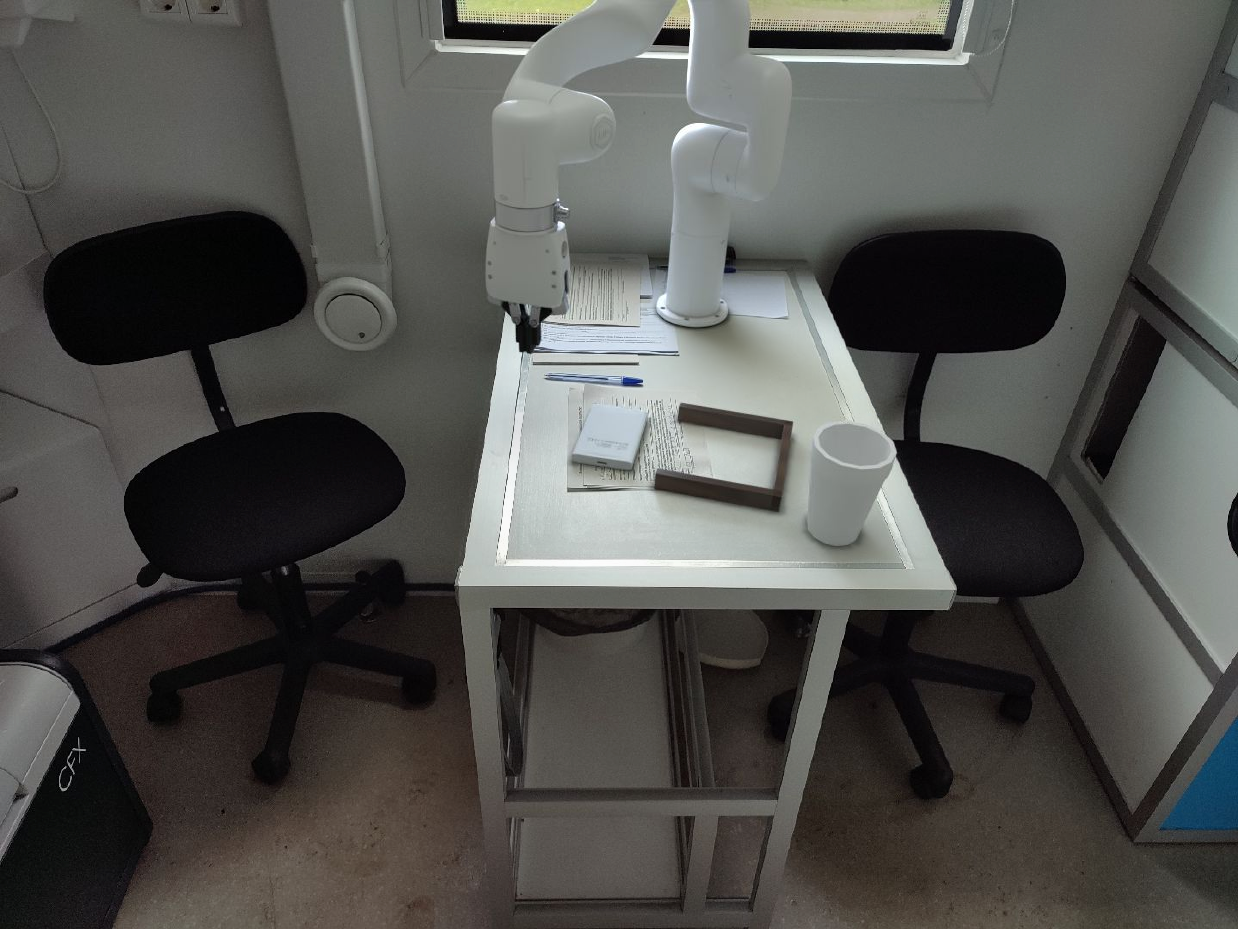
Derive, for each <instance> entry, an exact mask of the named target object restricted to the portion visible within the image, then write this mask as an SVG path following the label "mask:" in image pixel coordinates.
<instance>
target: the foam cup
mask: <svg viewBox="0 0 1238 929" xmlns="http://www.w3.org/2000/svg"><path fill="white" fill-rule="evenodd" d="M897 454H898V452H897V448H896V446H895V442H894V441H893V440H892V439H891V438H890V437H889V436H888V435H886V434H885V432H883V431H882V430H881V429H878V428H875V427H873V426H872V425H869V424H866V423H863V422H856V421H852V420H839V421H838V420H837V421H830V422H828V423H825V424H824V425H821V426H819V427H818V428H817V430H816V431H815V432H814V434H813V435H812V439H811V444H810V448H809V458H810V464H809V465H810V468H809V483H808V498H807V499H808V500H807V516H806V520H807V521H806V524H807V525H806V526H807V530H808V532H809V533H810V534H811V536H812V537H813V538H814V539H816V540H817V541H819V542H821V543H823V544H824V545H825V544H826V545H829V546H834V547H840V546H842V547H843V546H849V545H851V544H853V543H855V542H856V540H857V539H858V537H859V534H860V533H861V530H862V529H863V526H864V524H865V523H866V520H867V519H868V516H869V513H870V511H871V509H872V508H873V506H874V504H875V502H876V499H877V498H878V495H879V494H880V491H881V489H882V487H883V484H884V482H885V481H886V480H887V479H888V478H889V476H890V474H891V471H892V470H893V467H894V463H895V460H896V456H897Z"/></svg>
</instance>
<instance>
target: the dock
mask: <svg viewBox="0 0 1238 929" xmlns="http://www.w3.org/2000/svg"><path fill="white" fill-rule="evenodd" d="M677 422H681V423H688V424H693V425H700V426H706V427H710V428H718V429H721V430H728V431H734V432H741V433H746V434H752V435H757V436H763V437H768V438H769V437H770V438H776V439H780V444H779V450H778V457H777V463H776V469H775V474H774V481H773V488H767V487H763V486H757V485H753V484H752V485H751V484H746V483H741V482H736V481H730V480H724V479H718V478H713V477H708V476H702V475H697V474H692V473H685V472H681V471H676V470H675V471H674V470H669V469H663V468H658V467H657V468H656V470H655V473H654V485H653V486H654V487H653V489H654V490H660V491H666V492H671V493H676V494H681V495H688V496H693V497H698V498H703V499H709V500H714V501H719V502H725V503H729V504H735V505H740V506H746V507H750V508H751V507H752V508H756V509H761V510H768V511H773V512H780V509H781V505H782V504H781V503H782V498H783V492H784V486H785V480H786V472H787V466H788V460H789V452H790V447H791V440H792V434H793V433H792V432H793V427H794V421H792V420H789V419H788V420H787V419H782V418H781V419H780V418H775V417H769V416H764V415H763V416H762V415H757V414H753V413H745V412H741V411H740V412H739V411H733V410H727V409H721V408H717V407H709V406H705V405H704V406H703V405H697V404H692V403H687V402H679V405H678V413H677Z"/></svg>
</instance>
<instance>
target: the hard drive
mask: <svg viewBox="0 0 1238 929" xmlns="http://www.w3.org/2000/svg"><path fill="white" fill-rule="evenodd" d="M648 418H649V412H648V411H647V410H641V409H635V408H630V407H629V408H628V407H623V406H622V407H621V406H616V405H608V404H602V403H601V404H600V403H593V404H592V405H591V407H590V409H589V413H588V415H587V416H586V420H585V422H584V425H583V427H582V430H581V432H580V435H579V436H578V439H577V441H576V444H575V447H574V449H573V451H572V454H571V461H572V462H573V463H576V464H583V465H589V466H595V467H600V468H601V467H602V468H609V469H616V470H622V471H632V470H633V467H634V464H635V460H636V458H637V454H638V450H639V447H640V444H641V441H642V437H643V434H644V431H645V428H646V424H647V421H648Z"/></svg>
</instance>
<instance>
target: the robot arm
mask: <svg viewBox="0 0 1238 929" xmlns="http://www.w3.org/2000/svg"><path fill="white" fill-rule="evenodd" d="M677 2H678V0H594V1H593V3H591V5H589V6H587V7H586V8H584V9H582V10H579V11H578V12H577V13H575V14H573V15H571V16H570V17H569V18H567V19H565V20H564V21H562V22H561V23H559V24H558V25H557V26H555V27H554V28H552V29H550V30H549V31H548V32H546V33H545V34H544V35H542V36H541V37H540V38H539V39H538V40H537V41H536V42H535V43H533V45H532V46H531V47H530V48H529V49H528V51H527V52H526V54H525V55H524V56H523V58H522V60H521V61H520V63H519V64H518V66H517V68H516V70H515V72H514V74H513V75H512V77H511V79H510V81H509V83H508V85H507V87H506V89H505V92H504V94H503V97H502V100H501V103H498V105H497V106H495V108H493V111H492V114H491V145H492V170H493V171H492V172H493V173H492V174H493V197H494V199H493V200H494V217H493V218H492V219H491V221H490V224H489V229H488V234H487V243H486V253H485V273H484V274H485V289H486V293H487V296H486V302H488V303H489V304H492V305H494V306H496V307H498V308H502V309H503V310H504V311H505V312H506V314H507V315H508V316H509V317H510V318H511V322H512V323H513V324H514V325H515V326H514V327H515V328H514V329H515V331H514V332H515V343H518V352H519V353H523V354H524V353H526V354H528V355H532V353H533V352H534V350H535V349H536V348H537V347H539V346H540V345H541V342H542V322H544V321H545V320H546V319H548V318H549V317H550V316H564V315H567V313H568V311H569V310H570V304H569V303H570V302H569V299H568V296H567V295H569V294H570V292H571V289H572V288H571V287H572V273H571V272H572V271H571V257H570V248H569V241H568V235H567V234H568V233H567V230H566V225H565V223H564V221H569V219H570V212H571V210H570V208H564V206H562V205H561V204H560V203H561V200H560V198H559V169H560V167H561V166H562V165H563V166H564V165H569V164H570V165H571V164H581V163H588V162H591V161H594V160H596V159H598V158H600V157H601V156H602V155H604V154H605V153H606V152H607V151H608V150H609V148H610V147H611V145H612V143H613V141H614V139H615V136H616V131H617V130H616V129H617V120H616V117H615V116H616V115H615V114H614V111H613V109H612V108H611V106H610V105H609V104H608V103H607V102H606V101H604V100H603V99H602V98H600V97H598V96H595V95H593V94H589V93H586V92H581V91H576V90H572V89H570V88H566V87H563V86H564V85H566V84H567V83H568V82H569V81H570V80H572V79H574V78H575V77H576V76H578V75H581V74H582V73H585V72H586V71H589V70H593V69H596V68H600V67H604V66H608V65H613V64H617V63H621V62H624V61H626V60H631V59H634V58H636V57H639V56H641V55H643V54H645V53H646V52H647V51H649V50H650V49H651V48H652V46H653V44H654V42H655V41H656V39H657V37H658V35H659V34H660V32H661V30H662V28H663V26H664V25H665V23H666V21H667V19H668V18H669V16H670V14H671V12H672V10H673V8H674V7H675V5H676V3H677ZM687 2H688V6H689V11H690V36H689V48H688V49H689V50H688V62H687V74H686V101H687V104H688V107H689V108H690V109H691V111H693V112H694V113H696V114H698V115H700V116H703V117H707V118H710V119H714V120H718V121H723V122H727V123H731V124H735V125H740V126H744V127H745V129H746V132H744V131H740V130H737V129H734V128H730V127H725V126H720V125H716V124H712V123H704V122H701V123H698V122H697V123H691V124H688V125H686V126H684V127H683V128H681V129H680V131H678V133H677V134H676V136H675V137H674V140H673V142H672V145H671V151H670V167H671V176H672V185H673V187H672V188H673V204H672V205H673V206H672V218H671V219H672V220H671V230H670V231H671V232H670V244H669V256H668V267H667V281H666V292H665V293H664V294H662V295H660V296H659V298H658V299H657V300H656V306H655V307H656V313H657V314H658V315H659V316H660V317H661V318H662V319H664V320H665V321H666V322H667V321H668V322H669V323H672V324H674V325H677V326H682V327H687V328H688V327H689V328H705V327H707V328H708V327H712V326H715V325H717V324H720V323H721V322H723V321H724V320H726V318H727V317H728V315H729V306H728V303H727V302H726V301H725V300H724V299H723V298H721V297H722V290H723V281H724V273H725V265H726V257H727V248H728V242H729V233H730V229H731V228H730V226H731V209H730V205H729V202H728V198H727V196H729V197H732V198H735V199H740V200H744V201H747V202H753V203H754V202H755V203H756V202H757V203H758V202H763V201H765V200H767V199H768V198H769V197H770V196H772V194H773V193H774V191H775V189H776V187H777V185H778V183H779V180H780V176H781V171H782V167H783V160H784V155H785V154H784V153H785V148H786V141H787V136H788V135H787V134H788V129H789V128H788V127H789V120H790V115H791V109H792V108H791V107H792V99H793V80H792V75H791V73H790V70H789V68H788V67H787V66H786V65H785V64H784V63H783V62H782V61H780V60H777V59H775V58H771V57H768V56H760V55H756V54H751V53H750V50H749V40H750V30H751V29H750V28H751V16H752V15H751V8H750V3H749V0H687ZM562 221H563V222H562ZM527 306H530V307H531V308H530V313H528V308H527Z"/></svg>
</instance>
